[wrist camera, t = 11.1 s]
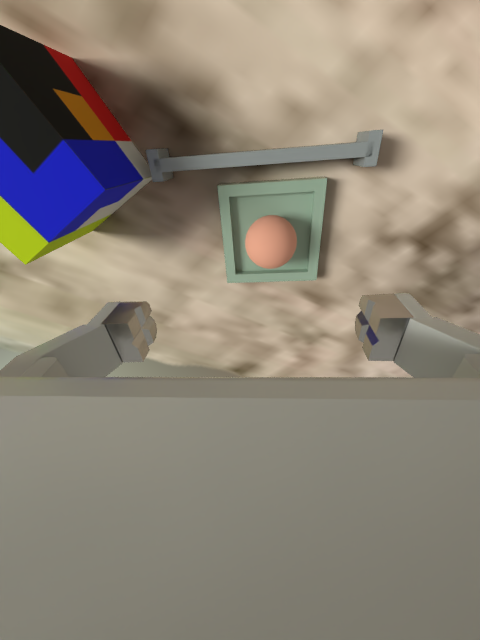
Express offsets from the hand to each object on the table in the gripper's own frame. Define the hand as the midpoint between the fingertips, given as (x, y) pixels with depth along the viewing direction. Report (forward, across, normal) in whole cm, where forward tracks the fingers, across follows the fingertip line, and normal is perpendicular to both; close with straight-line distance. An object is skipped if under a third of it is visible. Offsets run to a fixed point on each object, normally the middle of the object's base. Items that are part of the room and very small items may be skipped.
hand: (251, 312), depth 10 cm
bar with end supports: (+20, 0, -4) cm, 20 cm away
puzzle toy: (+20, +17, -5) cm, 27 cm away
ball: (+16, -1, +3) cm, 17 cm away
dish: (+20, -1, +3) cm, 20 cm away
